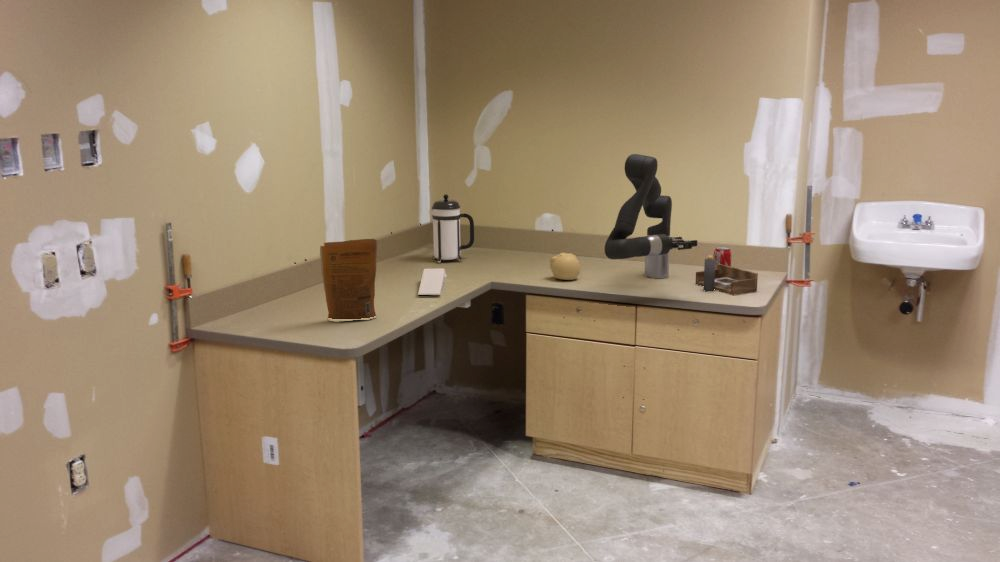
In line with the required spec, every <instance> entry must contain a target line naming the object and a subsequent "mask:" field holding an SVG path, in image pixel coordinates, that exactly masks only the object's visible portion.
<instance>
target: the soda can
mask: <svg viewBox="0 0 1000 562" xmlns="http://www.w3.org/2000/svg"><path fill="white" fill-rule="evenodd" d="M712 259H715V269H717V264H722V265H726V266H730V267H732V251H731V247H729V246H716V247H715V249H714V251H713V257H712Z"/></svg>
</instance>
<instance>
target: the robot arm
mask: <svg viewBox="0 0 1000 562" xmlns="http://www.w3.org/2000/svg"><path fill="white" fill-rule="evenodd" d="M658 165H659V164H658V160H657V158H656V157H653V156H650V155H645V154H640V153H638V154H637V153H633V154H630V155H628V156H627V158H626V159H625V161H624V174H625V176H626V178H627V180H628V181H629V182H630V183H631V185H633V188H634V189H635V191H636V192H635V193H634V194H633V195H632V196H631V197H629V198H627V200H626V201H625V202H624V203H623V204H622V205H621V207H620V209H619V211H618V214H617V218H616V221H615V224H614V227H613V229H612V231H611V232H610V234H609V235H608V237H607V239H606V241H605V245H604V254H605V256H606V257H607V258H608V259H610V260H624V259H625V260H626V259H631V258H638V257H640V258H641V257H644V275H645V277H647V278H652V279H665V278H669V271H670V269H669V268H670V250H672V251H673V250H679V251H681V250H691V249H692V248H693V247H698V243H699V242H698V240H696V239H694V240H684V239H683V237H682V236H675V237H673V236H671V223H672V222H671V220H672V219H671V218H672V211H673V208H672V207H673V202H672V197H671V196H669V195H661V194H662V187H661V184H660V182H659V179H658V178H657V177H656V175H657V171H658ZM642 208H643V212H644V214H645V216H646V217H647V218H650V219H661V222H659V223H657V224H655V225H651V226H649V227H648V228H647V229H646V235H644V236H638V237H636V236H635V237H632V238H628V237H630V236H632V235H633V234H634V232H635V228H636V225H637V222H638V218H639V215H640V212H641V210H642Z"/></svg>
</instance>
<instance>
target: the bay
mask: <svg viewBox="0 0 1000 562" xmlns="http://www.w3.org/2000/svg"><path fill="white" fill-rule="evenodd" d="M758 275H759V272H754V271H750V270H747V269H742V268H739V267H738V268H737V267H735V266H731V267H730V266H726V265H722V264H717V269H715V282H714V289H715V290H714V291H717V290H719V291H718V292H720V291H722V292H721V293H724V292H725V294H727V293H729V294H728V295H731V294H732V296H735V295H734V294H737V295H742V294H741V293H743V294H748V293H749V292H750V293H755V292H758V280H759V279H758V278H759V276H758ZM696 284H698V285H697V286H700V285H701V286H700V287H703V286H704V270H699V271H696V272H695V285H696ZM750 293H749V294H750Z"/></svg>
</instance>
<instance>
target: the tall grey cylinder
mask: <svg viewBox="0 0 1000 562" xmlns="http://www.w3.org/2000/svg"><path fill="white" fill-rule="evenodd" d="M703 271H704V287H703V289H702V290H703V291H704V290H705V291H704V292H707V291H712V292H715V290H714V282H715V259H713V255H707V258H705V259H704V265H703Z"/></svg>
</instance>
